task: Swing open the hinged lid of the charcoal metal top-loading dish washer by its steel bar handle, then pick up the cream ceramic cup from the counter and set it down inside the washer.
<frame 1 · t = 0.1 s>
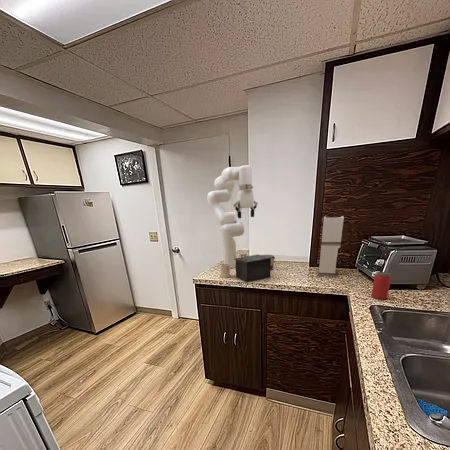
hand: (246, 217, 158), 37 cm above the counter, tool pointing down, fingers open, 9 cm apart
cup: (225, 276, 167), on the counter
washer: (253, 277, 161), on the counter
stepped grey pillar: (327, 274, 160), on the counter
food container: (265, 269, 178), on the counter
beer can: (378, 297, 120), on the counter
washer lid: (252, 255, 156), point 14 cm above the counter, hinge at 0.0°
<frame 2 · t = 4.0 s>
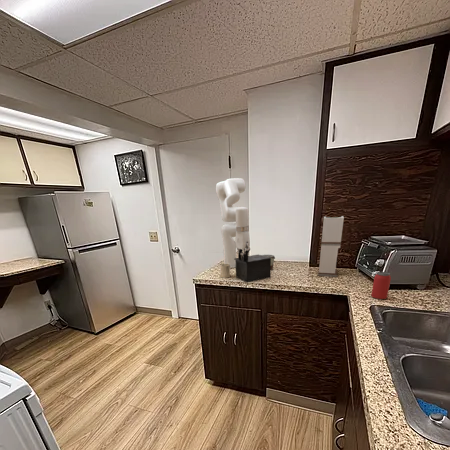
hand: (243, 259, 154), 13 cm above the counter, tool pointing down, fingers closed on washer lid, 5 cm apart
washer lid: (252, 255, 156), point 14 cm above the counter, hinge at 0.0°, touching gripper
everything else where it was.
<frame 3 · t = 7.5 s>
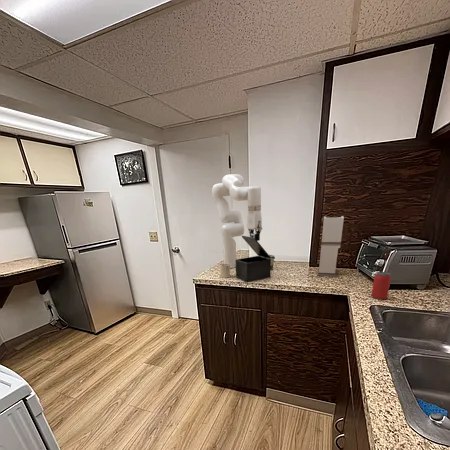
hand: (254, 239, 153), 24 cm above the counter, tool pointing down, fingers closed on washer lid, 5 cm apart
washer lid: (258, 244, 155), point 21 cm above the counter, hinge at 48.0°, touching gripper
everything else where it was.
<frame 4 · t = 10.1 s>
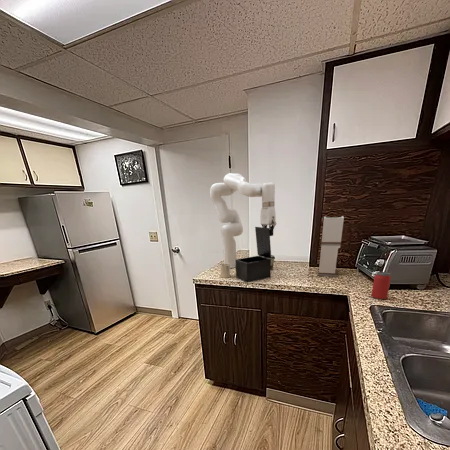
hand: (268, 235, 157), 26 cm above the counter, tool pointing down, fingers closed on washer lid, 5 cm apart
washer lid: (265, 241, 157), point 22 cm above the counter, hinge at 83.9°, touching gripper
everything else where it was.
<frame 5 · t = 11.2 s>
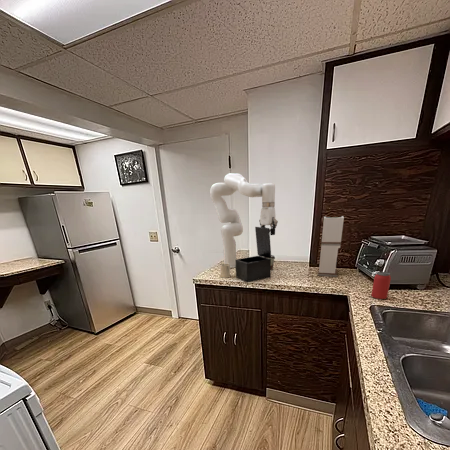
hand: (267, 234, 157), 26 cm above the counter, tool pointing down, fingers open, 9 cm apart
washer lid: (265, 241, 157), point 22 cm above the counter, hinge at 83.9°
everything else where it was.
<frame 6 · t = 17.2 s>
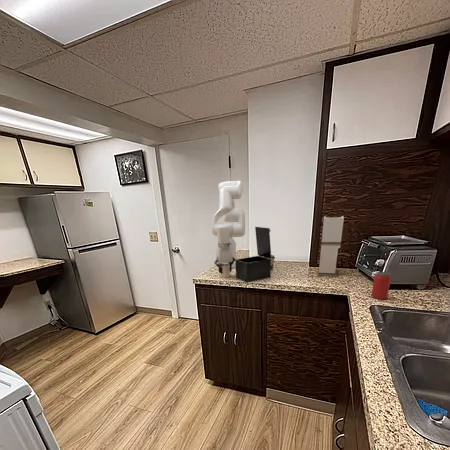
hand: (225, 272, 165), 3 cm above the counter, tool pointing down, fingers closed on cup, 6 cm apart
cup: (225, 276, 167), on the counter, touching gripper
everything else where it was.
when the fingers open (4 cm above the counter, at t = 30.5 s): cup stays where it is, resting on washer.
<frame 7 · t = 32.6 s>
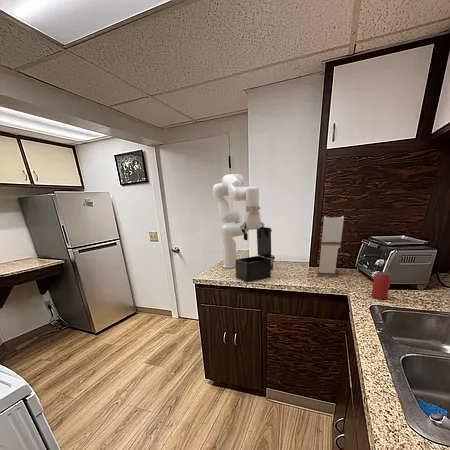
hand: (252, 239, 153), 25 cm above the counter, tool pointing down, fingers open, 9 cm apart
cup: (253, 276, 161), point 1 cm above the counter, touching washer
washer lid: (266, 241, 158), point 22 cm above the counter, hinge at 87.5°
everything else where it was.
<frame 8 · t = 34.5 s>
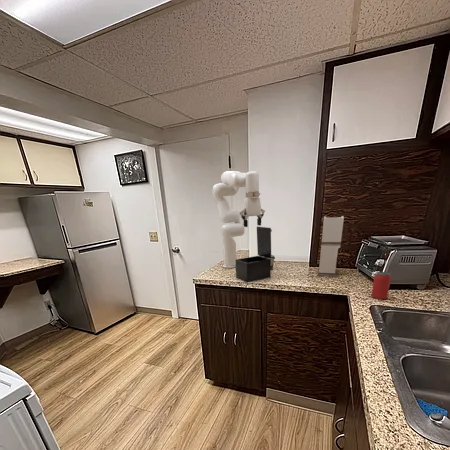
hand: (252, 226, 149), 32 cm above the counter, tool pointing down, fingers open, 9 cm apart
nothing on the counter moved.
at the end: washer lid at +88° (first picture: +0°); cup inside the target area in the washer (0.2 cm from its centre), point 0.9 cm above the washer's base; the gripper is holding nothing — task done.
